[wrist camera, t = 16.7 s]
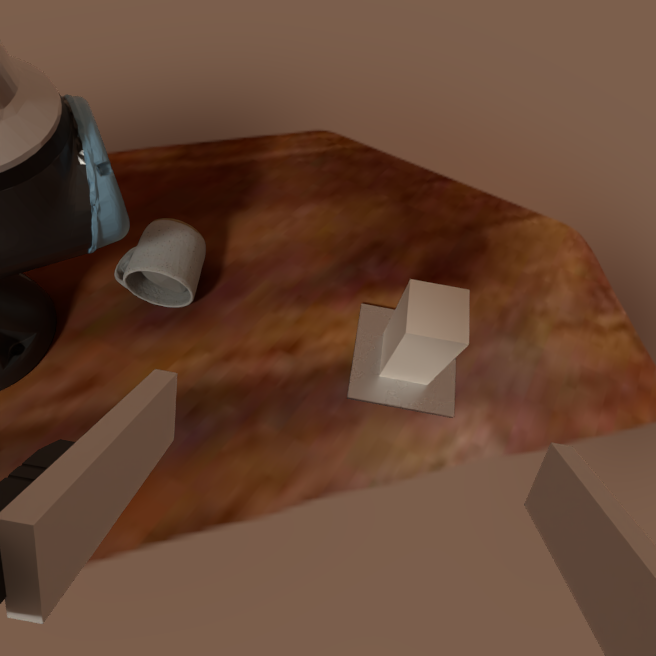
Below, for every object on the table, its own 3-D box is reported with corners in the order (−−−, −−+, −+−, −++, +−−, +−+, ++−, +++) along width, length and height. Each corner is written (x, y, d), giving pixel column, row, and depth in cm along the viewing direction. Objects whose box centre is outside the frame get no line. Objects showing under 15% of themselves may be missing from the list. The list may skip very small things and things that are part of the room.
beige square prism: (379, 376, 46) (405, 332, 35) (383, 332, 48) (410, 279, 38) (427, 384, 46) (468, 344, 35) (429, 340, 48) (469, 289, 38)
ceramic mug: (214, 254, 52) (200, 214, 45) (200, 311, 48) (183, 276, 41) (131, 246, 52) (104, 204, 45) (111, 302, 48) (79, 266, 41)
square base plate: (346, 398, 45) (356, 378, 39) (360, 305, 50) (371, 274, 44) (452, 418, 45) (479, 401, 39) (455, 323, 50) (479, 294, 44)
